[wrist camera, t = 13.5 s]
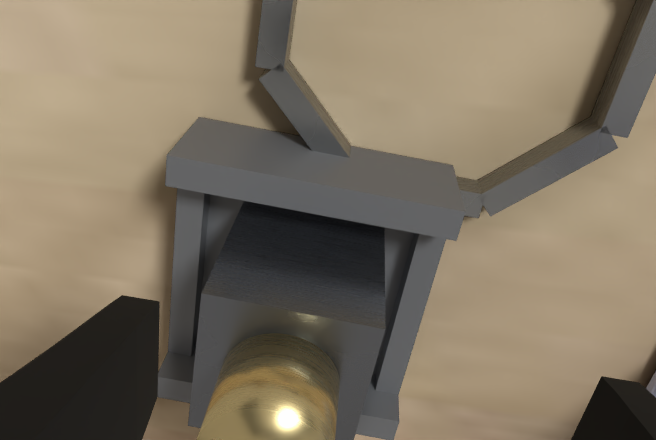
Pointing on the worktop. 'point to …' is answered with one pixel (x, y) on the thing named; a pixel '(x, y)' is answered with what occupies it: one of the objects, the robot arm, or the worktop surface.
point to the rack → (315, 198)
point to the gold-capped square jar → (289, 328)
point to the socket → (516, 176)
